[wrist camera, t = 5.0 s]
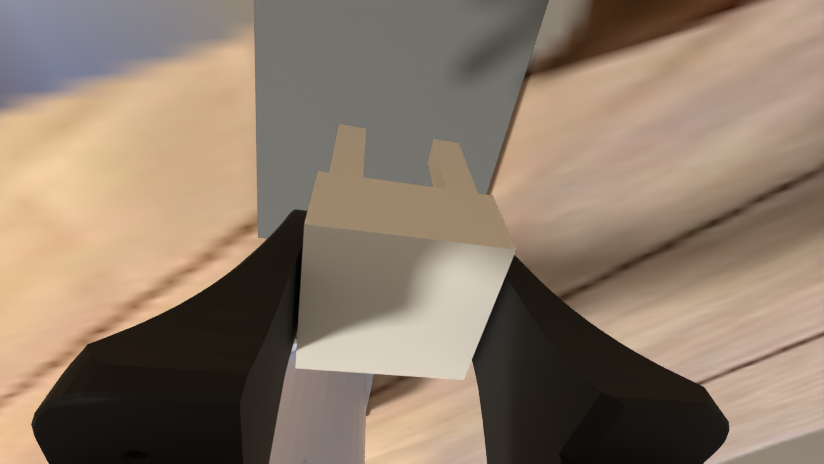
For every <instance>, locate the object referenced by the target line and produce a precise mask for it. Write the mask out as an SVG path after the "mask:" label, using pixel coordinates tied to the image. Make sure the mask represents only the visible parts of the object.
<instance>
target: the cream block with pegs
mask: <svg viewBox="0 0 824 464" xmlns="http://www.w3.org/2000/svg"><path fill="white" fill-rule="evenodd" d="M365 141H366V128H361V127H355V126H349V125H342V124H339V127H338V132H337V137H336V141H335V146H334V151H333V156H332V161H331V165H330V170H329V172H322V171H318V173H317V176H316V180H315V184H314V188H313V192H312V196H311V200H310V204H309V208H308V212H307V215H306V219H305V223H304V237H303V253H302V269H301V285H300V301H299V316H298V332H297V348H296V364H295V368H298V369H312V370H327V371H341V372H356V373H370V374H385V375H399V376H414V377H428V378H443V379H458V380H464V377H465V375H466V373H467V370H468V368H469V365H470V363H471V360H472V358H473V355H474V353H475V350H476V348H477V345H478V343H479V340H480V338H481V336H482V333H483V331H484V328H485V326H486V323H487V321H488V318H489V316H490V313H491V311H492V308H493V306H494V304H495V301H496V299H497V296H498V294H499V291H500V289H501V286H502V284H503V281H504V279H505V276H506V274H507V271H508V269H509V267H510V264H511V262H512V259H513V257H514V254H515V252H516V248H515V245H514V243H513V241H512V239H511V236H510V234H509V232H508V229H507V227H506V225H505V222H504V220H503V218H502V215H501V213H500V211H499V209H498V206H497V204H496V202H495V199H494V197H493V196H492V195H485V194H478V192H477V190H476V187H475V184H474V182H473V179H472V176H471V174H470V171H469V169H468V166H467V163H466V161H465V158H464V155H463V153H462V150H461V148H460V145H459V143H456V142H449V141H443V140H437V139H433V143H432V147H431V152H430V156H429V160H428V166H429V170H430V175H431V180H432V184H433V187H428V186H421V185H414V184H407V183H400V182H393V181H386V180H379V179H372V178H364V177H363V172H364V156H365Z"/></svg>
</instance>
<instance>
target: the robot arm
mask: <svg viewBox="0 0 824 464" xmlns="http://www.w3.org/2000/svg"><path fill="white" fill-rule="evenodd" d="M307 212H308V211H305V210H297V209H294V210H293V211H291V212H290V214H289V215H288V216H287V217H286V219H285V220H284V221H283V222H282V223H281V225H280V226H279V227H278V228H277V229H276V230H275V231H274V232H273V233H272V234H271V235H270V236H269V237H268V238H267V240H266V241H265V242H264V243H263V244H262V245H261V246H260V247H258V248H257V249H256V250H255V251H254V252H253V253H252V254H251V255H250V256H248V257H247V258H246V259H245V260H244V261H243V262H242V263H240V264H239V265H238V266H237V267H236V268H234V269H233V270H232V271H230V272H229V273H228V274H227V275H225V276H224V277H222V278H221V279H220V280H218V281H217V282H215V283H214V284H213V285H211V286H210V287H208V288H206V289H205V290H203V291H202V292H200V293H198V294H197V295H195V296H193V297H192V298H190V299H188V300H187V301H185V302H183V303H181V304H180V305H178V306H176V307H174V308H172V309H170V310H168V311H166V312H164V313H162V314H160V315H158V316H156V317H154V318H151V319H149V320H147V321H145V322H143V323H140V324H138V325H136V326H134V327H131V328H129V329H126V330H124V331H121V332H119V333H116V334H113V335H111V336H108V337H106V338H103V339H101V340H98V341H96V342H93V343H90V344H88V345H87V346H86V347H85V348H84V349H83V351H82V352H81V353H80V354H79V355H78V356H77V357H76V358H75V359H74V361H73V362H72V363H71V364H70V365H69V366H68V368H67V369H66V370H65V371H64V373H63V374H62V375H61V377H60V378H59V380H58V381H57V382H56V384H55V385H54V387H53V388H52V389H51V391H50V392H49V394H48V395H47V396H46V398H45V399H44V401H43V402H42V403H41V405H40V406H39V408H38V409H37V410H36V412H35V414H34V417H33V420H32V424H31V425H32V428H33V432H34V436H35V438H36V440H37V442H38V444H39V446H40V448H41V450H42V452H43V454H44V455H45V457H46V459H47V461H48V463H49V464H365V426H366V409H367V405H368V400H369V395H370V390H371V386H372V381H373V376H374V374H370V373H356V372H341V371H327V370H312V369H298V368H295V364H296V348H297V339H295V338H296V334H297V331H298V316H299V301H300V285H301V269H302V253H303V237H304V223H305V219H306V215H307ZM472 362H473V366H474V370H475V374H476V379H477V384H478V389H479V396H480V404H481V411H482V419H483V428H484V437H485V446H486V456H487V464H703V463H704V462H705V461H706V460H707V459H708V458H710V457H711V456H712V455H713V454H714V453H715V452H716V451H717V450H718V449H719V448H720V447H721V446H722V444H723V443H724V442H725V440H726V438H727V435H728V432H729V422H728V420H727V419H726V417H725V416H724V414H723V413H722V412H721V410H720V409H719V407H718V406H717V405H716V403H715V402H714V400H713V399H712V397H711V396H710V395H709V393H708V392H707V390H706V389H705V388H704V387H703V386H701V385H699V384H697V383H695V382H693V381H690V380H688V379H686V378H684V377H682V376H680V375H678V374H676V373H674V372H672V371H670V370H668V369H666V368H664V367H662V366H660V365H658V364H656V363H654V362H652V361H651V360H649V359H647V358H645V357H644V356H642V355H640V354H638V353H636V352H635V351H633V350H631V349H630V348H628V347H626V346H625V345H623V344H621V343H620V342H618V341H617V340H615V339H614V338H612V337H610V336H609V335H607V334H606V333H604V332H603V331H601V330H600V329H598V328H597V327H596V326H594V325H593V324H591V323H590V322H588V321H587V320H586V319H585V318H583V317H582V316H581V315H579V314H578V313H577V312H575V311H574V310H573V309H572V308H570V307H569V306H568V305H567V304H565V303H564V302H563V301H562V300H561V299H559V298H558V297H557V296H556V295H555V294H554V293H553V292H552V291H551V290H549V289H548V288H547V287H546V286H545V285H544V284H543V283H542V282H541V281H540V280H539V279H538V278H537V277H536V276H535V275H534V274H533V273H532V272H531V271H530V270H529V269H528V268H527V267H526V266H525V265H524V264H523V263H522V262H521V261H520V260H519V259H518V258H517V257H516V256H515V255H514V257H513V259H512V262H511V264H510V267H509V269H508V271H507V274H506V276H505V279H504V281H503V284H502V286H501V289H500V291H499V294H498V296H497V299H496V301H495V304H494V306H493V308H492V311H491V313H490V316H489V318H488V321H487V323H486V326H485V328H484V331H483V333H482V336H481V338H480V340H479V343H478V345H477V348H476V350H475V353H474V355H473V358H472Z"/></svg>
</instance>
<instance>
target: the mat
mask: <svg viewBox="0 0 824 464" xmlns="http://www.w3.org/2000/svg"><path fill="white" fill-rule="evenodd" d="M548 1H549V0H254V34H255V91H256V148H257V205H258V238H268V237H269V236H270V235H271V234H272V233H273V232H274V231H275V230H276V229H277V228H278V227H279V226H280V225H281V223H282V222H283V221H284V220H285V219H286V217H287V216H288V215H289V214H290V212H291V211H293V210H294V209H297V210H305V211H308V208H309V204H310V200H311V196H312V192H313V188H314V184H315V180H316V176H317V173H318V171H322V172H329V170H330V165H331V161H332V156H333V151H334V146H335V141H336V137H337V132H338V127H339V124H342V125H349V126H355V127H361V128H366V141H365V156H364V172H363V177H364V178H372V179H379V180H386V181H393V182H400V183H407V184H414V185H421V186H428V187H433V184H432V180H431V175H430V170H429V166H428V160H429V156H430V152H431V147H432V143H433V139H437V140H443V141H449V142H456V143H459V145H460V148H461V150H462V153H463V155H464V158H465V161H466V163H467V166H468V169H469V171H470V174H471V176H472V179H473V182H474V184H475V187H476V190H477V192H478V194H485V195H486V194H487V191H488V188H489V185H490V182H491V179H492V175H493V172H494V169H495V166H496V163H497V160H498V157H499V154H500V151H501V147H502V144H503V141H504V138H505V135H506V132H507V129H508V126H509V123H510V119H511V116H512V113H513V110H514V107H515V104H516V101H517V98H518V95H519V91H520V88H521V85H522V82H523V79H524V76H525V73H526V70H527V67H528V63H529V60H530V57H531V54H532V51H533V48H534V45H535V41H536V38H537V35H538V32H539V29H540V26H541V23H542V20H543V17H544V14H545V11H546V7H547V4H548Z"/></svg>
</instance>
